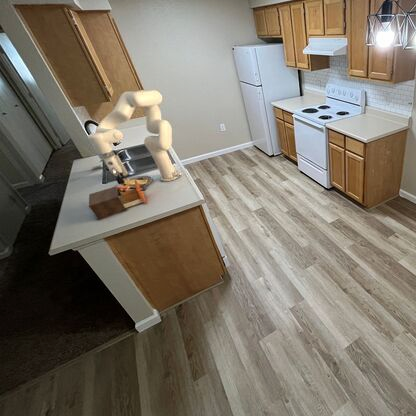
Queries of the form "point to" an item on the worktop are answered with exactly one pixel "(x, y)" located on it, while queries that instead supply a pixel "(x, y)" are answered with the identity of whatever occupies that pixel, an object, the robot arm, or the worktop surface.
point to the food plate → (133, 183)
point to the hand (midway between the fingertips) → (121, 180)
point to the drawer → (142, 199)
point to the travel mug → (120, 164)
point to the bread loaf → (130, 195)
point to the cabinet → (106, 202)
